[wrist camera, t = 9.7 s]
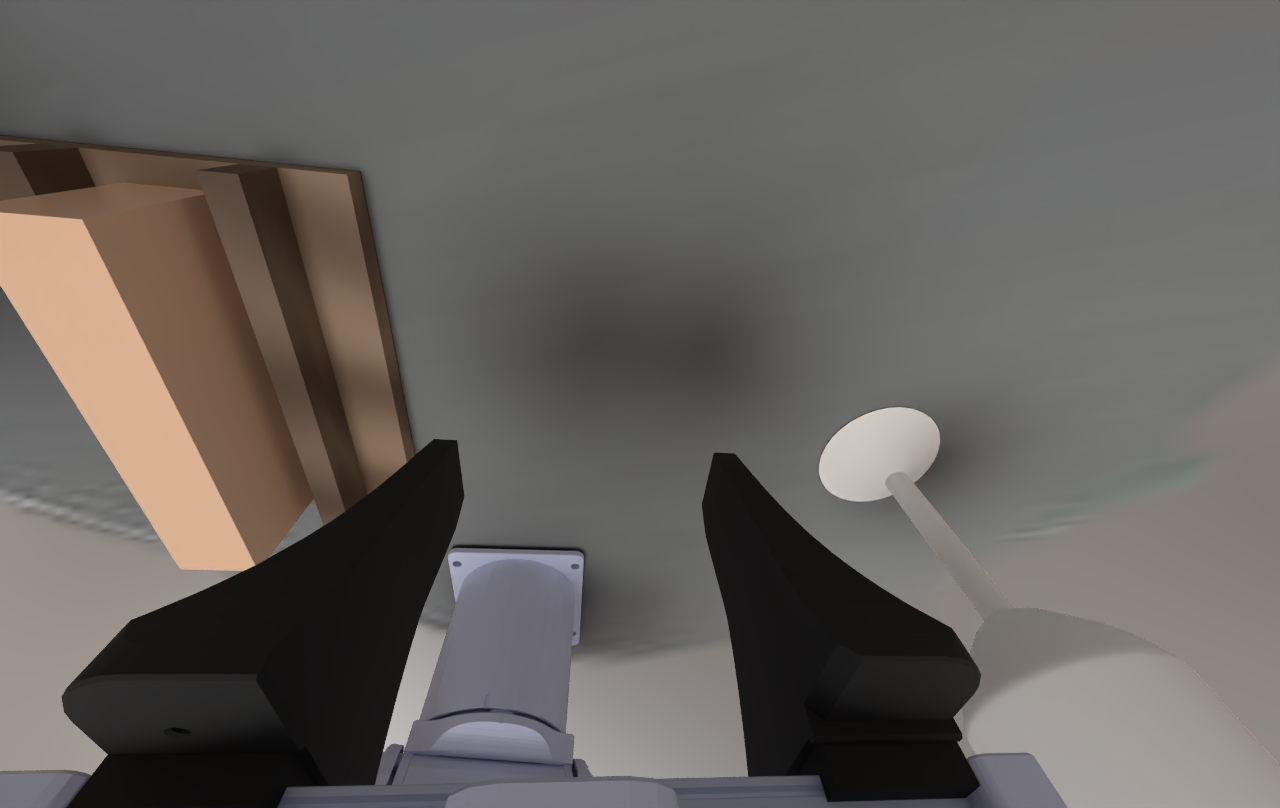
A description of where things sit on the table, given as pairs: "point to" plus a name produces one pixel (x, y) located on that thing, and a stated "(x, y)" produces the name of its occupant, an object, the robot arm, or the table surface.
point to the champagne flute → (1064, 665)
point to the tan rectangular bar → (159, 362)
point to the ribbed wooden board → (278, 293)
